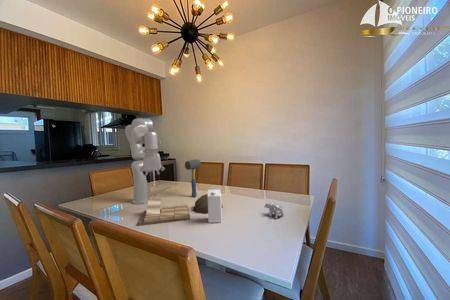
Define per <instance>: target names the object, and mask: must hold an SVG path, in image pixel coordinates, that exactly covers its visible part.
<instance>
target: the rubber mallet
mask: <svg viewBox="0 0 450 300" xmlns="http://www.w3.org/2000/svg"><path fill="white" fill-rule="evenodd" d="M201 166H202V163H201V160H199V159H190V160H186V161H185V162H184V168H185V169H186V170H189V171H190V170H191V197H192V198H196V197H197V196H198V194H197V180H196V170H195V169H199V168H201Z"/></svg>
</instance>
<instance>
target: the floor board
mask: <svg viewBox="0 0 450 300" xmlns="http://www.w3.org/2000/svg"><path fill="white" fill-rule="evenodd" d="M146 212H147V210H143V212H142V214H141V217H140V219H139V220H138V224H137V225H138V226H139V227H141V226H147V225H156V224H157V225H158V224H163V223H164V224H165V223H172V222H173V223H174V222H182V221H190V220H191V216H190V209H189V206H188V204H177V205H165V206H161V208H160V214H158V215H149V216H146Z"/></svg>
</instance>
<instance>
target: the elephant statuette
mask: <svg viewBox="0 0 450 300" xmlns="http://www.w3.org/2000/svg"><path fill="white" fill-rule="evenodd" d="M264 208H266V209H268V210H269V211H268V212H269V213H268V217H270V216H271V217H272V216H273V214H274V219H275V218H276V219H275V220H277V219H278V216H279V215H281V216H282V217H284V216H285V215H284V214H285V213H284V210H283V209H282V208H283V206H282V205H278V204H276V202H275V201H272V202H268V203H265V205H264ZM283 215H284V216H283Z"/></svg>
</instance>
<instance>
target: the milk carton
mask: <svg viewBox="0 0 450 300" xmlns="http://www.w3.org/2000/svg"><path fill="white" fill-rule="evenodd" d="M207 194H208V214H207V215H208V216H207V217H208V221H207V222H208V224H209V223H211V224H213V223H222V220H223V216H222V215H223V210H222V209H223V208H222V206H223V204H222V205H221V203H222V189H221V187H220V186H216V187H211V186H210V187H208V188H207Z"/></svg>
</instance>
